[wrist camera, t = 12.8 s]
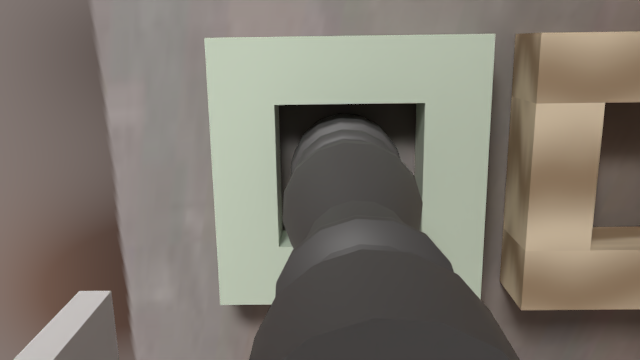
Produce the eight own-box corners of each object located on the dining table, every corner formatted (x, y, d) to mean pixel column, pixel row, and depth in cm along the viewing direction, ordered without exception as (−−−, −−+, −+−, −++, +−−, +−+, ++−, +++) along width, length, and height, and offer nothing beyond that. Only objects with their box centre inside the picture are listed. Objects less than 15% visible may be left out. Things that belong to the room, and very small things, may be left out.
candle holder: (409, 128, 34) (627, 354, 9) (379, 225, 35) (502, 639, 11) (307, 101, 33) (260, 261, 9) (282, 200, 35) (181, 567, 11)
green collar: (215, 38, 33) (204, 38, 30) (480, 34, 32) (495, 33, 30) (228, 283, 36) (220, 304, 33) (467, 281, 36) (480, 302, 33)
